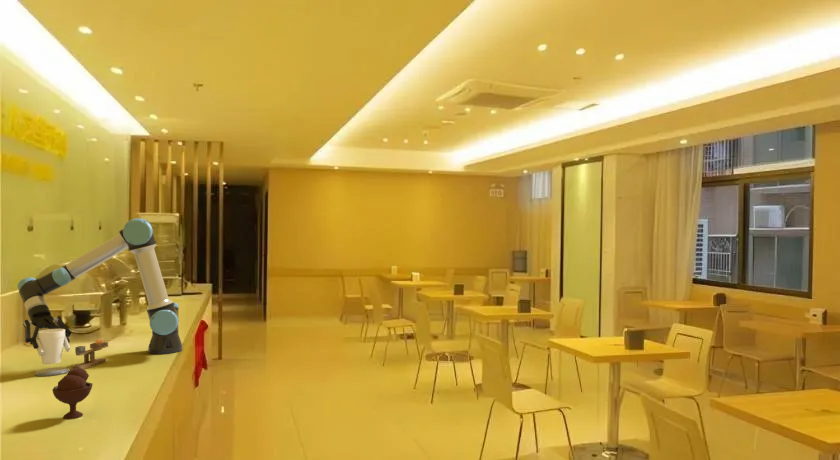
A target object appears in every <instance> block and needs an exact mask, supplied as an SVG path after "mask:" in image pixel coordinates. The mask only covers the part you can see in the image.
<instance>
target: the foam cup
mask: <svg viewBox="0 0 840 460" xmlns="http://www.w3.org/2000/svg"><path fill="white" fill-rule="evenodd" d="M64 337H65V329H49V328H45V329H41V330H39V331H38V334H37V339H39V341H40V344H41V346H42V349H43V351H44V352H43V354H42V356H40V357H41V362H42V364H43V365H55V364H58V363H61V362H62V354H63V348H64V345H63V343H64Z"/></svg>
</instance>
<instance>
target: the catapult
mask: <svg viewBox="0 0 840 460" xmlns="http://www.w3.org/2000/svg"><path fill="white" fill-rule="evenodd" d="M104 348H109V342H108V341H103V343H102V344H95V342H93V343H90V344H89V349H88V350H87V349H86V345H80V346H79V345H78V346H76V347H75V351H74V352H75V356H77V357H78V356H83V362H80V363H78V364H75V365H72V366H71V370H72V369H74V368H82V369H84V370H86V369H90V368H91V367H94V366H98V365H101V364H104V363H106V362H107V361H106V358H102V357H100V358H98V357H97V358H96V357H95V355H96V354H95V353H96V352H98V351H101V350H103V349H104Z"/></svg>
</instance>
